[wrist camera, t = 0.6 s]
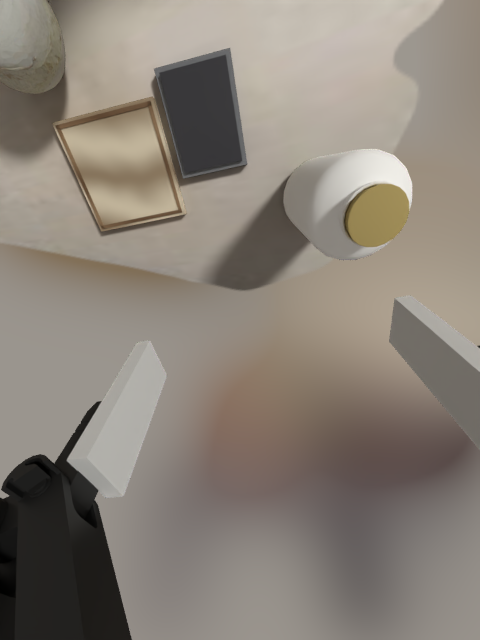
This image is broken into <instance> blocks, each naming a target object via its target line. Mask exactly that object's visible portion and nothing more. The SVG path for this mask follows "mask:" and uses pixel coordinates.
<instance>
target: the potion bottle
mask: <svg viewBox="0 0 480 640" xmlns="http://www.w3.org/2000/svg"><path fill="white" fill-rule="evenodd" d="M411 202H412V182H411V179H410V176H409V174H408V171H407V169H406V167H405V166H404V165H403V164H402V163H401V162H400V161H399V160H398V159H397V158H396V157H395V156H394V155H392V154H389V153H386V152H384V151H381V150H379V149H359V150H353V151H348V152H343V153H337V154H332V155H327V156H321V157H316V158H313V159H310V160H308V161H306V162H304V163H302V164H301V165H300V166H299V167H298V168H296V169H295V170H294V172H293V173H292V175H291V176H290V177H289V179H288V181H287V184H286V187H285V190H284V198H283V204H284V208H285V212H286V214H287V216H288V217H289V219H290V221H291V222H292V223H293V224H294V225H295V226H296V227H297V228H298V229H299V230H300V231H301V233H302V234H303V235H304V236H305V237H306V238H307V239H308V240H309V241H310V242H311V243H312V244H313V245H314V246H315V247H316V248H317V249H318V250H320V251H321V252H322V253H323V254H325V255H326V256H329V257H333V258H336V259H339V260H357V259H360V258H363V257H366V256H369V255H372V254H373V253H375V252H377V251H378V250H380V249H381V248H383V247H385V246H386V245H387V244H388V243H389V242H390V241H391V240H392V239H393V238H394V237H395V236H396V235H397V234H398V233H399V232H400V231H401V229H402V228H403V226H404V225H405V223H406V221H407V218H408V214H409V209H410V206H411Z"/></svg>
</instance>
